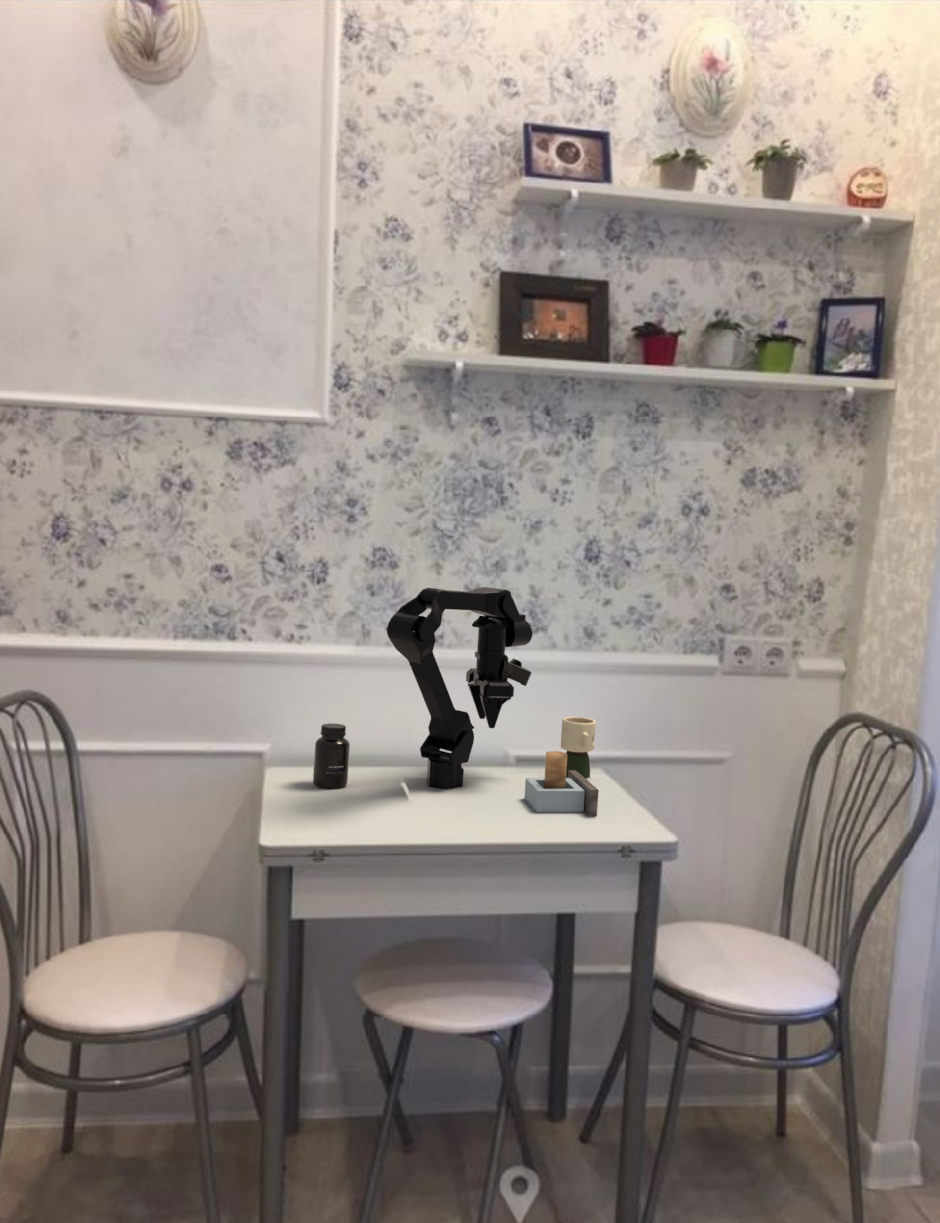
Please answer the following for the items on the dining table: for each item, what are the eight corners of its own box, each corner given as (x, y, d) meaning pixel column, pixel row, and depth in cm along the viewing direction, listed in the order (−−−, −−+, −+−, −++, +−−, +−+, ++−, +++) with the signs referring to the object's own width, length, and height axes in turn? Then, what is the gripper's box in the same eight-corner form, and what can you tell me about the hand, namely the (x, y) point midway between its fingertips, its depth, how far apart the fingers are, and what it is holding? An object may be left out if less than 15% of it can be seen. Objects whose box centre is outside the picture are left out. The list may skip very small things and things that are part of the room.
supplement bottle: (333, 791, 200) (336, 730, 198) (305, 785, 203) (308, 725, 202) (354, 784, 206) (357, 725, 204) (327, 778, 209) (329, 720, 208)
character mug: (599, 786, 214) (604, 725, 213) (567, 787, 213) (571, 725, 211) (582, 773, 225) (586, 714, 224) (551, 773, 223) (555, 714, 222)
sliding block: (536, 812, 190) (538, 790, 189) (524, 798, 198) (525, 778, 198) (583, 811, 191) (584, 790, 191) (569, 798, 200) (570, 778, 200)
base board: (501, 822, 186) (503, 789, 185) (484, 800, 199) (486, 769, 199) (596, 821, 189) (598, 789, 189) (573, 800, 203) (575, 770, 203)
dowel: (546, 808, 193) (549, 756, 192) (540, 802, 196) (543, 751, 195) (566, 808, 193) (570, 756, 192) (560, 802, 197) (563, 751, 196)
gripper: (540, 656, 204) (536, 733, 206) (518, 643, 223) (513, 714, 224) (486, 655, 202) (481, 733, 204) (467, 642, 220) (463, 713, 222)
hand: (486, 723), depth 213 cm, fingers open, 9 cm apart
